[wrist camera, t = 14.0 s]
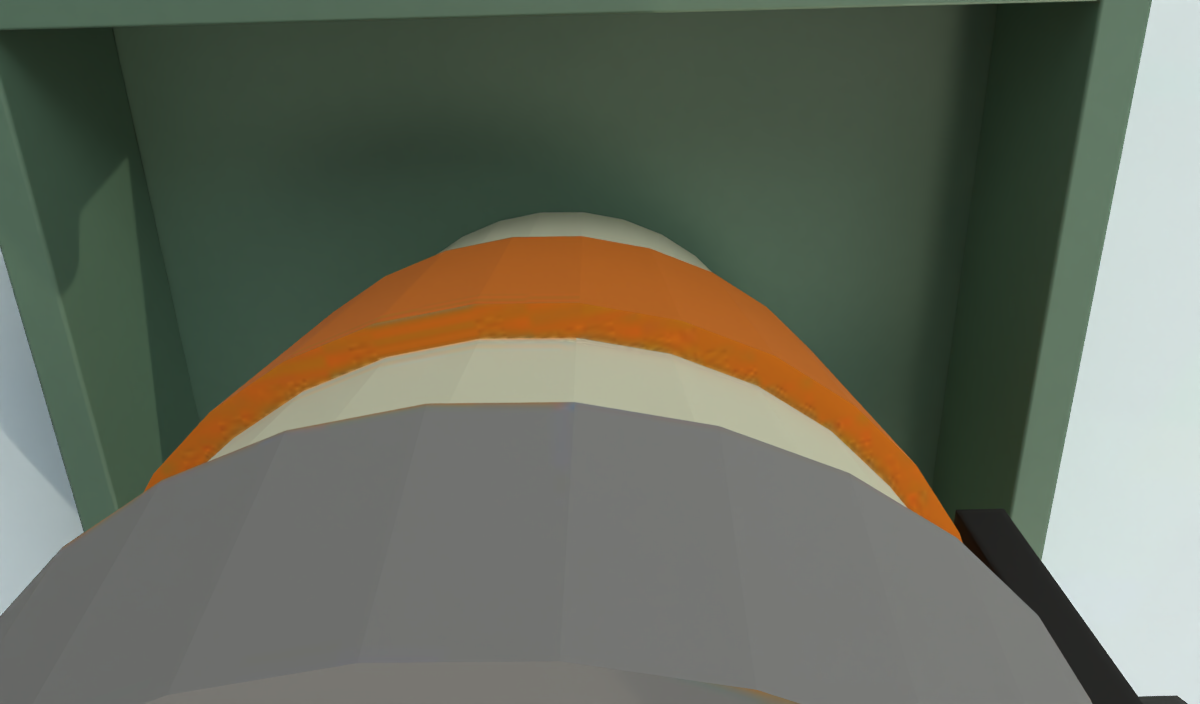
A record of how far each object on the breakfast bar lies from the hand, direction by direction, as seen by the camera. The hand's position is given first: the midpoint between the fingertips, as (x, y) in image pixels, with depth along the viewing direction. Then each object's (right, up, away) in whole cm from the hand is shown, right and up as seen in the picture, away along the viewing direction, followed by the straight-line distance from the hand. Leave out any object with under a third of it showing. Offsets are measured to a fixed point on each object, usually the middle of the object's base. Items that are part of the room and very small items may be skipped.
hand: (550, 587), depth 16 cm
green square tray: (0, +3, +7) cm, 7 cm away
